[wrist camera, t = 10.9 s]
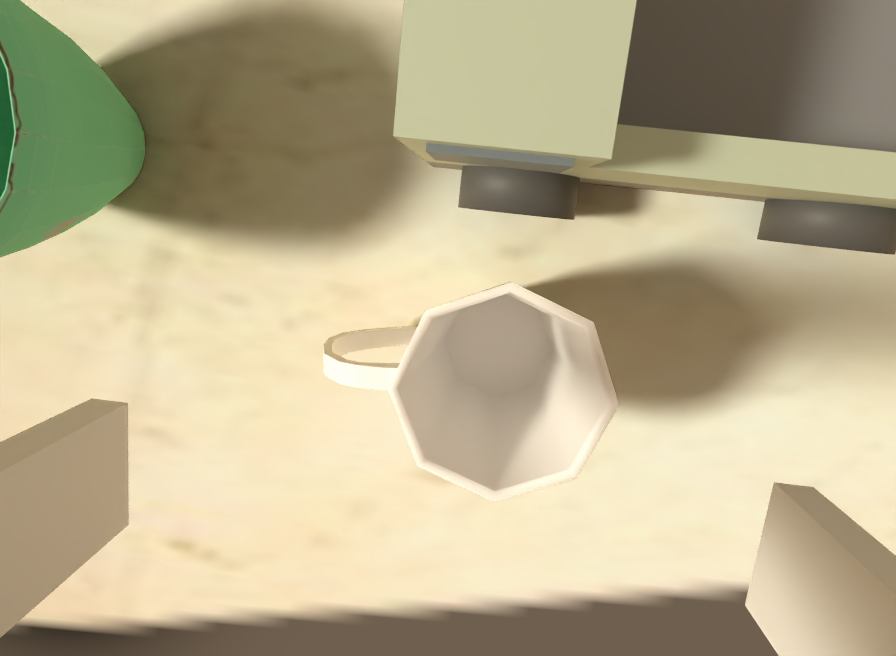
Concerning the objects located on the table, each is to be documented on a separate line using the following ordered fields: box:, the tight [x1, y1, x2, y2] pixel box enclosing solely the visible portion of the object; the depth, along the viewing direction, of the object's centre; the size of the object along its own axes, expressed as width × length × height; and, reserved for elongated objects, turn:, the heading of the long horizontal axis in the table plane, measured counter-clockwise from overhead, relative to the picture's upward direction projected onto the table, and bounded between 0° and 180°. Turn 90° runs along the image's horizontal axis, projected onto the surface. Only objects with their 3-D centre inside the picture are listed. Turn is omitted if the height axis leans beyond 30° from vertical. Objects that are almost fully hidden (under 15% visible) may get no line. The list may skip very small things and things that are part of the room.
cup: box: [324, 282, 619, 502], centre depth 22 cm, size 7×10×8 cm
